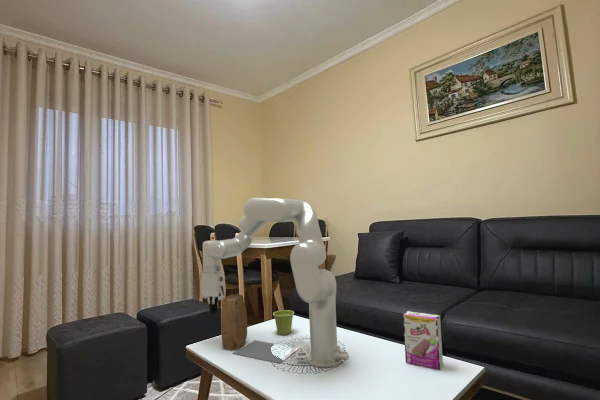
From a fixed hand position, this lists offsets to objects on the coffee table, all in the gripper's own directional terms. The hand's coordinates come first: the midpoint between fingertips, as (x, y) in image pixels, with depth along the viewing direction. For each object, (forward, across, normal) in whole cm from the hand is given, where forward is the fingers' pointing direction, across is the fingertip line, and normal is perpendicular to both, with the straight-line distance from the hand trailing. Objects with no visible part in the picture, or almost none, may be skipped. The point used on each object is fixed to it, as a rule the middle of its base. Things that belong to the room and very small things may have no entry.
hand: (213, 312), depth 138 cm
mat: (+12, -27, 0) cm, 29 cm away
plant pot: (+12, -22, -20) cm, 32 cm away
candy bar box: (+12, -82, -12) cm, 84 cm away
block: (+12, -12, 0) cm, 17 cm away
